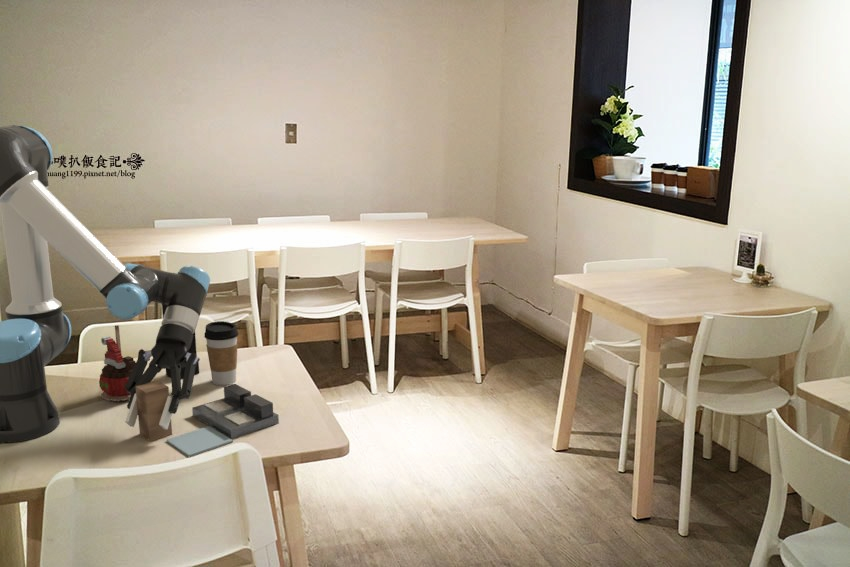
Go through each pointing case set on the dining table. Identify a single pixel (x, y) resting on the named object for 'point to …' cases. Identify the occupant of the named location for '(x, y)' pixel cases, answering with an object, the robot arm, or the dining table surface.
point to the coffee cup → (222, 351)
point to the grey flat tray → (237, 412)
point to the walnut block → (152, 409)
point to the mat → (199, 441)
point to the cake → (115, 370)
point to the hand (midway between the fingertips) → (146, 425)
